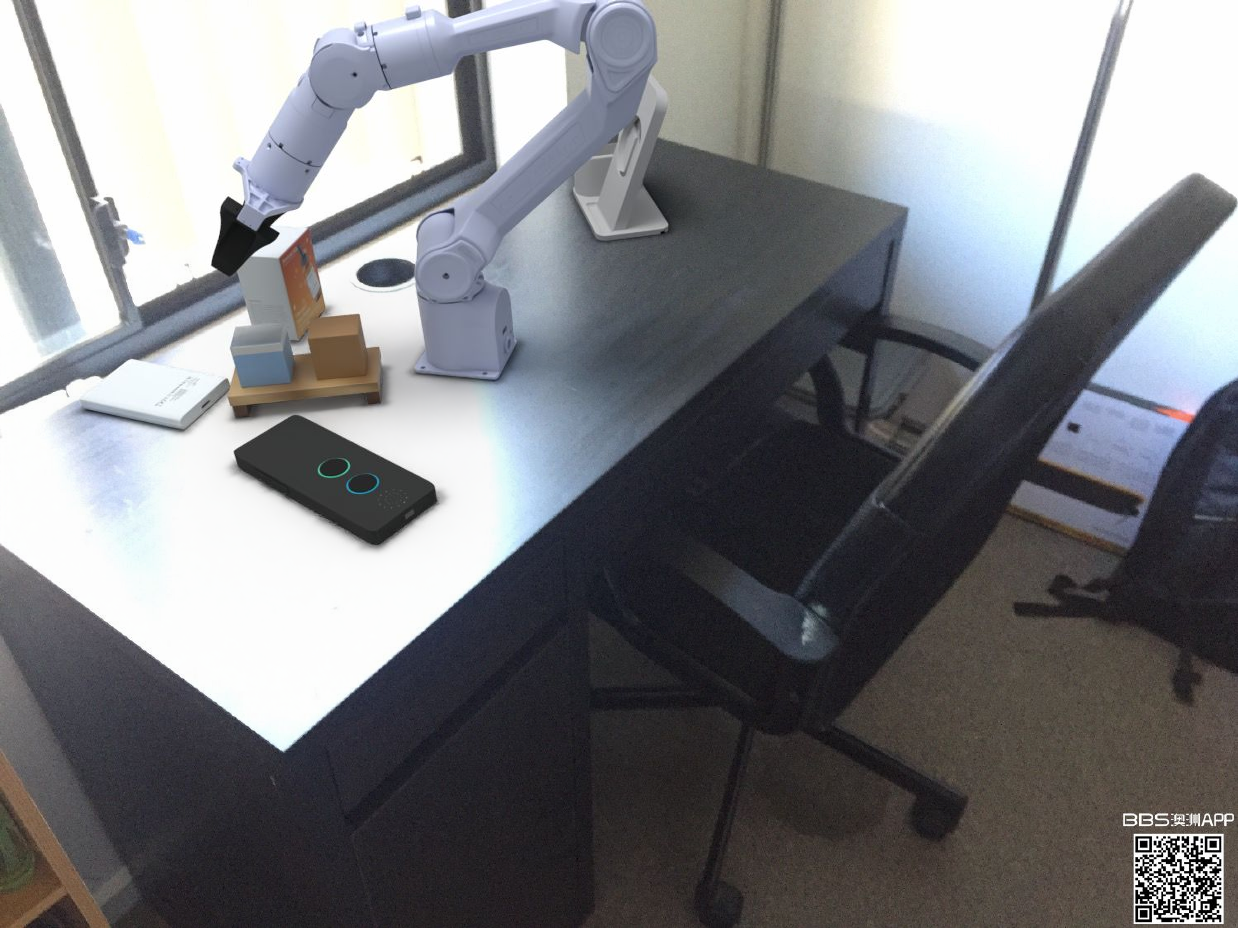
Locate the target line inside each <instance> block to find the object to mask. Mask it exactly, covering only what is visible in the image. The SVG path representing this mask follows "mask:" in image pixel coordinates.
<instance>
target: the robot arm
mask: <svg viewBox="0 0 1238 928" xmlns="http://www.w3.org/2000/svg"><path fill="white" fill-rule="evenodd" d="M657 33H658V32H657V25H656V22H655V19H654V17H653V15H652V14H651V12H650V10H649V9H648V7H646V6H645V4H644V2H643V0H508V1H504V2H502V3H498V4H495V5H493V6H489V7H486V8H482V9H479V10H477V11H473V12H469V13H467V14H464V15H461V16H457V17H455V18H453V17H449V16H447V15H445V14H444V13H442V12H440V11H438V10H437V9H435V8H431V9H426V10H423V11H422V10H421V6H420V5H419V4H415V5H411V6H408V7H406V8H405V13H404V15H403V16H399V17H396V18H392V19H388V20H385V21H380V22H377V23H373V24H369V25H367V23H366V21H365V20H362V21H359V22H355V23H354V26H353V30H352V29H350V28H349V27H335V28H333V29H330V30H328V31H326V32H325V33H323V35H322V36H321V37H317V39H316V40H315V42H314V46H313V50H312V58H311V60H310V63H309V65H308V67H307V68H306V70H305V72H303V73H301V75H300V77H299V79H298V81H297V85H296V86H295V87H293V88H292V89H291V91H290V92H289V94H288V96H287V97H286V99H285V101H284V102H283V104H282V106H281V108H280V109H279V111H278V113H277V115H276V116H275V118H274V119H273V121H272V123H271V125H270V127H269V128H268V130H267V132H266V133H265V135H264V137H263V139H262V141H261V143H260V144H259V146H258V148H257V149H256V151H255V153H254V154H253V156H252V158H251V160H249V159H247V158H245V157H244V156H238V157H237V158H236V159H235V160H234V161H233V163H232V168H233V170H235V171H236V172H238V173H239V174H240V175H241V180H242V188H243V189H242V190H243V196H244V198H243V199H244V200H243V201H242V204H241V203H240V202H238V200H236V199H233V198H232V197H230V196H227V197H225V199H224V200H223V202H222V203H221V204H220V209H219V219H220V226H219V234H218V238H217V242H216V245H215V248H214V251H213V254H212V258H211V264H210V266H211V267H212V268H213V269H216V270H217V271H218V272H220V273H222V274H223V275H225V276H226V277H230V278H231V277H232V276H233V275H234V274H235V273H237V270H238V269H239V268H240V267H241V266H242V265H243V264H244V263H245V262H246V261H247V260H248V259H249V258H250V257H251V256H252V255H253V254H254V253H255V252H256V251H258V250H259V249H261V248H263V247H264V246H267V245H269V244H271V243H272V242H274V241H275V240H276V239H277V237H278V236H279V234H280V233H279V232H278V231H276V230H274V229H273V228H271V227H270V226H271V225H274V223H275V222H277V220H279V219H280V218H281V217H282V216H283V215H285V214H286V213H288V212H292V211H296V210H298V209H300V208H301V206H302V205H303V203H304V200H305V196H306V194H307V192H308V191H309V190H310V188H311V186H312V184H313V182H314V181H315V179H316V178H317V176H318V175H319V173H320V172H321V170H322V168H323V167H324V164H325V163H326V161H327V160H328V159H329V157H330V155H331V153H332V152H333V150H334V149H335V147H336V145H337V144H338V142H339V141H340V139H341V137H342V136H343V135H344V133H345V131H346V130H347V126H348V121H349V120H350V118H351V117H352V115H353V114H354V112H355V110H356V109H357V110H358V109H359V110H360V109H362V108H363V107H365V106H367V105H368V104H369V102H370V101H371V100H373V97H374V95H375V94H376V92H378V91H383V92H388V91H392V90H396V89H401V88H403V87H404V88H405V87H408V86H412V85H415V84H420V83H423V82H427V81H431V80H435V79H440V78H442V77H446V76H450V75H452V74H453V73H454V72H455V70H456V67H458V64H459V62H460V61H461V59H462V58H464V57H467V56H473V55H478V54H482V53H488V52H491V51H496V50H502V49H507V48H511V47H516V46H521V45H526V44H530V43H535V42H540V41H548V42H551V43H552V44H555V45H557V46H559V47H561V48H563V49H565V50H567V51H569V52H571V53H572V54H575V55H580V53H581V42H582V43H584V46H585V50H586V54H585V87H584V89H583V90H581V92H580V93H579V94H578V95H577V96H575V97H574V98H573V99H572V100H571V101H570V102H569V103H568V104H566V106H565V107H564V108H563V109H561V111H559V112H558V114H556V115H555V116H554V117H553V118H552V119H551V120H550V121H549V122H548V123H547V124H546V125H545V126H543V127H542V128H541V129H540V130H539V131H538V132H537V133H536V134H535V135H534V136H533V137H531V139H529V141H527V142H526V143H525V144H524V145H523V146H522V147H521V148H520V149H518V151H517V152H516V153H515V154H514V155H513V156H511V157H510V158H509V159H508V160H507V161H506V162H505V163H503V165H501V167H500V168H499V169H497V170H496V171H495V172H494V173H493V174H492V175H491V176H489V178H488V179H487V180H485V182H484V183H482V184H481V185H480V186H479V187H477V189H476V190H475V191H474V192H473V193H471V194H466V195H462V196H459V197H457V198H456V199H455V200H454V201H453V202H451V203H450V204H449V205H447V206H445V207H442V208H439V209H435V210H432V211H430V212H429V213H427V214H425V216H424V217H422V218H421V220H420V221H419V223H418V225H417V228H416V231H415V232H416V233H415V239H416V257H415V258H416V259H415V264H414V270H413V276H414V277H413V278H414V281H415V284H414V285H415V292H416V297H417V299H416V300H417V304H418V311H419V318H420V323H421V329H422V336H423V341H424V342H423V343H424V349H425V350H424V351H423V352H422V354H421V356H420V358H419V359H418V360H417V362H416V363H415V365H414V367H413V370H414V373H417V374H429V375H439V376H450V377H458V378H459V377H460V378H471V379H480V380H481V379H482V380H490V381H491V380H492V381H493V380H498V379H499V378H500V376H501V374H502V372H503V370H504V369H505V367H506V365H507V363H508V360H509V358H510V356H511V355H512V353H513V352H514V350H515V347H516V345H517V339H516V338H515V332H514V322H513V311H512V303H511V296H510V293H509V290H508V289H507V288H506V287H502V286H499V285H495V284H493V283H490V282H488V281H487V280H485V276H484V273H483V272H482V271H483V270H485V268H486V267H487V266H489V264H491V262H492V261H493V259H494V257H495V255H496V253H497V251H498V249H499V247H500V245H501V243H502V241H503V239H504V237H506V235H507V234H509V233H510V232H511V231H512V230H513V229H514V228H515V227H516V226H517V225H518V224H520V223H521V222H522V221H523V220H524V219H526V217H528V215H529V214H531V213H532V212H533V211H534V210H535V209H536V208H537V207H538V206H539V205H540V204H542V203H543V202H544V201H546V199H547V198H548V197H550V196H551V195H552V194H553V193H554V192H555V191H556V190H557V189H558V188H559V187H561V185H563V184H564V183H565V182H566V181H567V180H568V179H570V178H571V177H572V176H573V175H574V173H575V172H576V171H577V170H578V169H579V168H580V167H581V166H583V165H584V164H585V163H586V162H587V161H588V160H589V159H590V158H591V157H593V156H594V155H595V154H596V153H597V152H598V151H599V150H600V149H601V148H602V147H604V146H605V145H606V144H609V142H611V141H612V140H613V139H614V138H615V137H616V136H617V135H619V132H620V131H621V130H622V129H624V128H625V127H626V126H627V125H628V124H629V123H630V122H631V121H632V120H633V118H634V117H635V116H636V114H637V111H638V108H639V105H640V102H641V99H642V96H643V93H644V90H645V87H646V83H647V80H648V77H649V74H650V73H651V71H652V70H653V68H654V67H655V65H656V64H657V63H658V60H659V55H658V39H657V38H658V36H657V35H658V34H657Z"/></svg>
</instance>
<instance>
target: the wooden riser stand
mask: <svg viewBox="0 0 1238 928" xmlns="http://www.w3.org/2000/svg"><path fill="white" fill-rule="evenodd" d="M366 349H367V369H366V375H364V376H354V377H344V378H333V379H323V380H317V377H316V373H315V369H314V365H313V361H312V356H311V352H309V353H300V354H299V353H298V354H293V356H294V360H295V362H294V368H293V374H292V380H291V383H284V384H274V385H264V386H254V387H244V388H242V387H241V384H240V381H239V378H238V374H237V371H236V367H235V366H234V370H233V373H232V378H231V382H230V388H229V389H228V393H227V399H228V403H229V407H232V411H233V414H234V417H235V418H236V419H240V418H246V417H247V418H248V417H250V415H251V410H252V406H253V405H256V404H257V405H258V404H268V403H275V402H276V403H278V402H287V401H296V400H307V399H316V398H327V397H336V396H345V395H347V396H348V395H356V394H365V395H364V396H365V400H366V404H367V405H376V404H382V392H383V391H382V389H383V370H384V369H383V365H382V354H381V347H380V346H371V347H366Z"/></svg>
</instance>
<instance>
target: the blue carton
mask: <svg viewBox="0 0 1238 928" xmlns="http://www.w3.org/2000/svg"><path fill="white" fill-rule="evenodd" d="M231 338H232V339H231V343H230V346H229V351H230V354H231V358H232V360H233V363H234V368H235V367H236V371H237V374H238V378H239V381H240V384H241V387H242V388H244V387H254V386H264V385H274V384H284V383H291V380H292V374H293V368H294V362H295V360H294V356H293V355H294V353H293V349H292V343H291V340H289V336H288V332H287V328H286V324H285V322H282V323H271V324H261V325H251V324H250V325H240V326H235V327H234V331H233V335H232V337H231Z"/></svg>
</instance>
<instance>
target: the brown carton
mask: <svg viewBox="0 0 1238 928" xmlns="http://www.w3.org/2000/svg"><path fill="white" fill-rule="evenodd" d="M307 332H308V333H307V344H308V348H309V353H311V356H312V361H313V365H314V369H315V373H316V377H317V380H323V379H333V378H344V377H354V376H364V375H366V369H367V349H366V348H367V345H366V340H365V334H364V329H363V325H362V319H361V314H360V313H351V314H340V315H339V314H338V315H331V316H330V315H329V316H328V315H327V316H318V318H311V319H310V325H309V328H308V331H307Z"/></svg>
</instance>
